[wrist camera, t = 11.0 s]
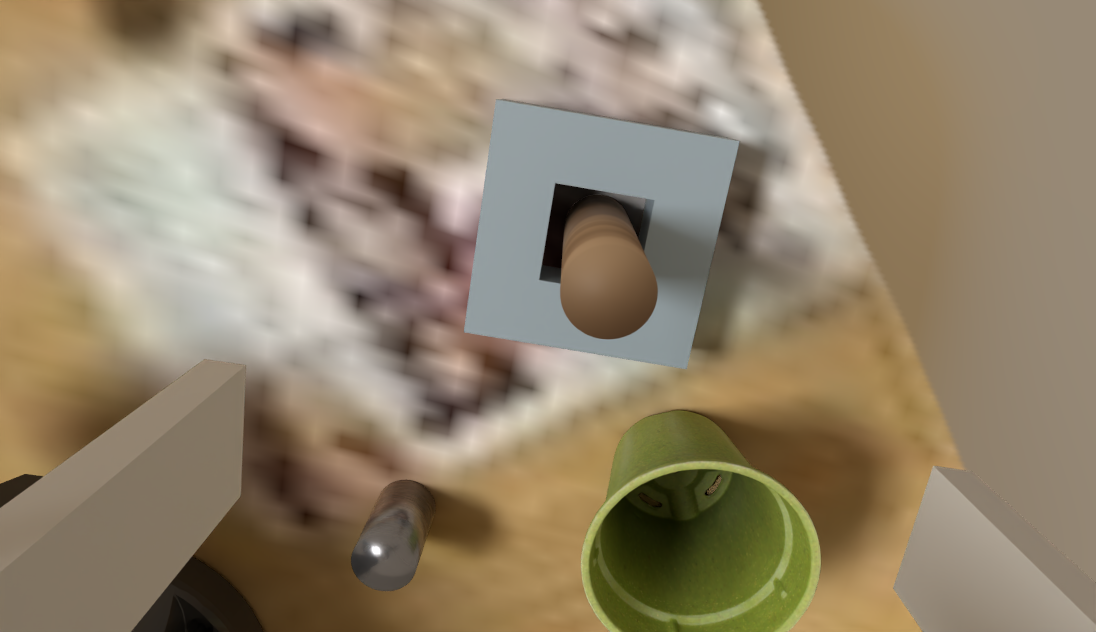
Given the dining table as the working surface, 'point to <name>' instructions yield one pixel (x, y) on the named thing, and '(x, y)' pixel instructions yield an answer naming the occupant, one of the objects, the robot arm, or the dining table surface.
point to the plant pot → (696, 537)
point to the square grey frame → (606, 165)
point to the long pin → (605, 271)
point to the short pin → (394, 536)
